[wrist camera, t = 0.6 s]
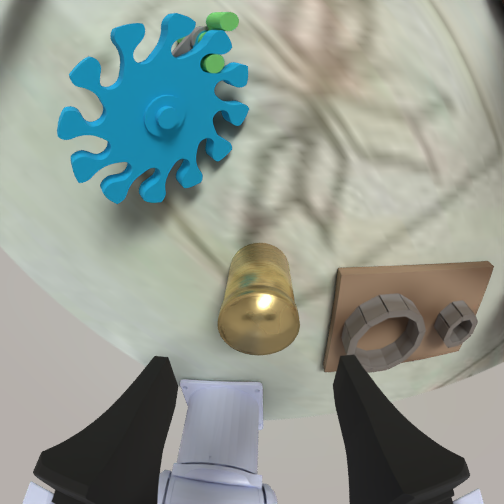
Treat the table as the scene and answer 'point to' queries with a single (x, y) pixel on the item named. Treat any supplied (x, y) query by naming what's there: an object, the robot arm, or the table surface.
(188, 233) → the table surface
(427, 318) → the manifold board
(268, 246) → the brass nipple
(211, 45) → the gear
